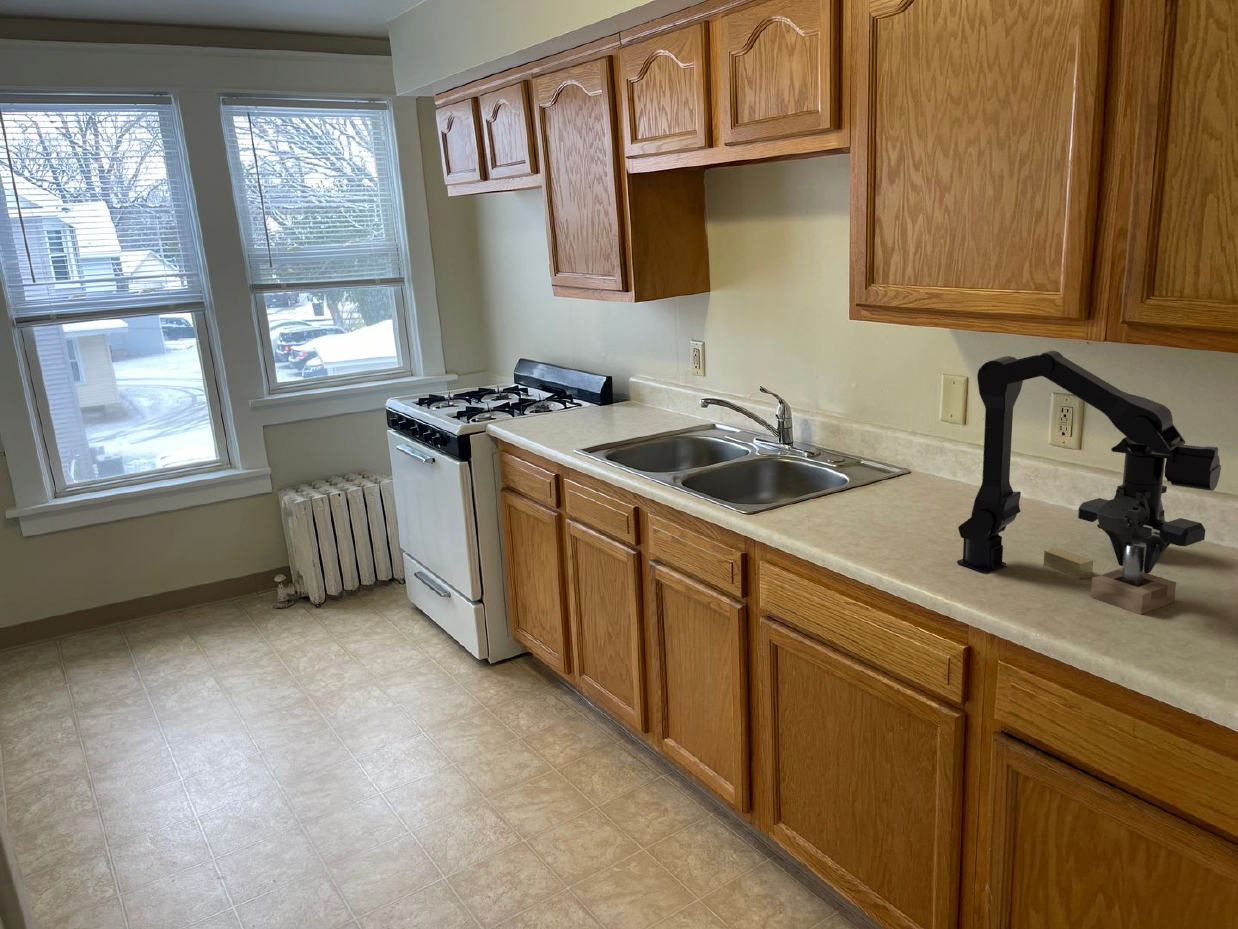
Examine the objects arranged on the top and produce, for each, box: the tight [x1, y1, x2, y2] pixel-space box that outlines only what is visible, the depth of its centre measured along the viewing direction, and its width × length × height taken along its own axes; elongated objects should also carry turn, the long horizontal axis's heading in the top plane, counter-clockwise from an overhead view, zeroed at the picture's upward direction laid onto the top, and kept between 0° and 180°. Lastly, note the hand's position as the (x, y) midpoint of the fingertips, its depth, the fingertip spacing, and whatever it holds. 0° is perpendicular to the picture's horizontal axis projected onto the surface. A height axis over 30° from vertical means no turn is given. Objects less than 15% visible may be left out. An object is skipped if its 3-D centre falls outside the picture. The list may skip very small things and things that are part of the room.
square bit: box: [1043, 547, 1094, 580], centre depth 169 cm, size 8×3×3 cm, turn 24°
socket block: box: [1090, 567, 1177, 615], centre depth 156 cm, size 9×9×4 cm
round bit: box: [1122, 541, 1146, 587], centre depth 155 cm, size 3×3×10 cm
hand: (1134, 569), depth 155 cm, fingers open, 4 cm apart
